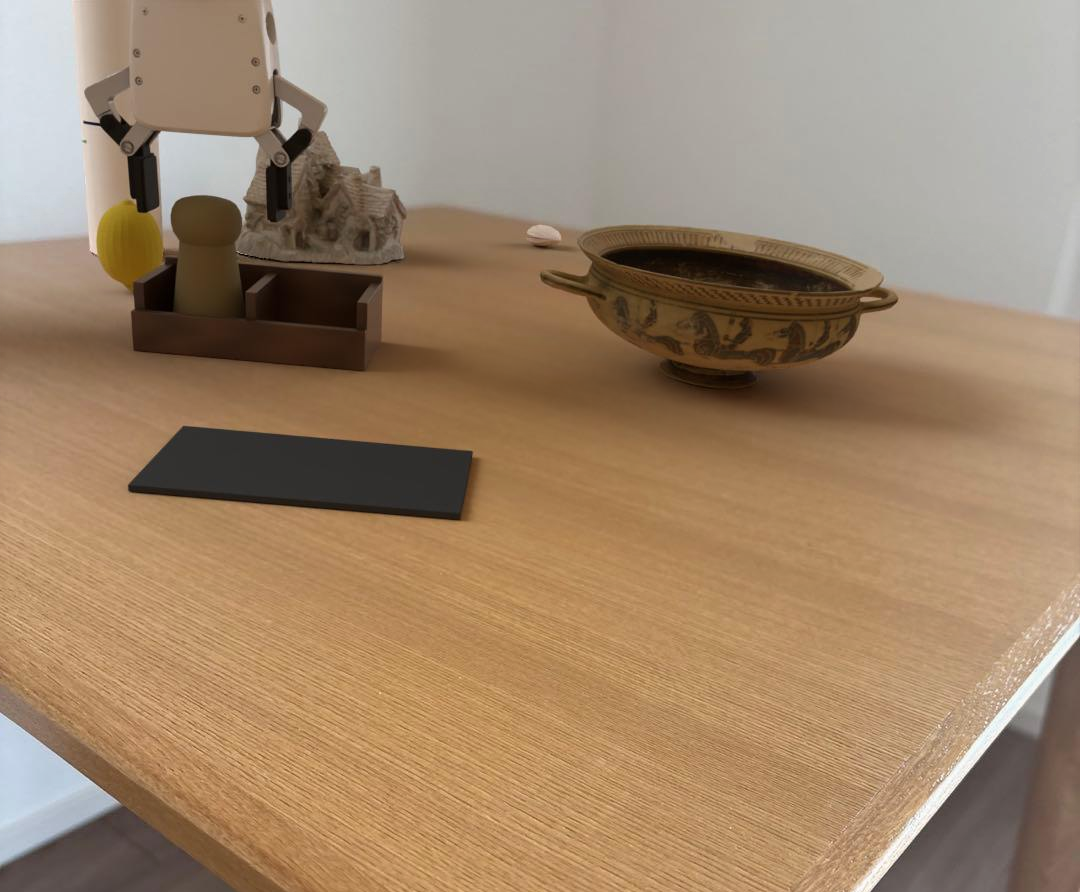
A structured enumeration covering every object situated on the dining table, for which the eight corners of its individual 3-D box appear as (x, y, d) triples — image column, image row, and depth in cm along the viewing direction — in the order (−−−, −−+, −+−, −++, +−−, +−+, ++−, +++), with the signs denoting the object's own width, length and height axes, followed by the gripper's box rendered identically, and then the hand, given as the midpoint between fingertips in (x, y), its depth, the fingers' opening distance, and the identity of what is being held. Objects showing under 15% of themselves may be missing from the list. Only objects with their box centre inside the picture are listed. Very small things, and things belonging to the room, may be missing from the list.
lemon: (139, 301, 98) (134, 206, 95) (86, 291, 100) (79, 198, 97) (177, 290, 103) (173, 200, 100) (126, 281, 105) (120, 192, 101)
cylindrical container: (121, 262, 112) (103, -18, 101) (74, 250, 115) (53, -23, 105) (178, 255, 117) (167, -12, 107) (132, 243, 121) (117, -17, 110)
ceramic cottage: (212, 245, 122) (218, 98, 116) (321, 238, 135) (332, 105, 129) (315, 281, 115) (328, 127, 109) (420, 270, 128) (436, 132, 122)
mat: (127, 491, 61) (127, 484, 61) (183, 431, 70) (183, 425, 70) (460, 519, 61) (460, 513, 61) (472, 456, 71) (472, 450, 70)
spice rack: (132, 350, 85) (128, 277, 83) (170, 322, 93) (167, 254, 91) (364, 371, 85) (366, 298, 83) (381, 340, 94) (383, 274, 91)
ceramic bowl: (562, 418, 79) (577, 275, 75) (506, 330, 100) (515, 215, 96) (949, 427, 85) (982, 295, 81) (819, 343, 107) (840, 235, 103)
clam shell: (544, 242, 144) (546, 222, 143) (571, 249, 141) (573, 229, 140) (519, 244, 141) (521, 223, 140) (546, 251, 138) (548, 230, 137)
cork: (220, 355, 86) (216, 206, 81) (153, 341, 87) (146, 195, 83) (264, 339, 91) (263, 198, 86) (201, 326, 93) (196, 188, 88)
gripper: (334, -27, 82) (336, 215, 89) (94, -46, 81) (115, 199, 88) (314, -32, 75) (317, 231, 82) (52, -52, 75) (78, 214, 82)
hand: (212, 214), depth 85 cm, fingers open, 9 cm apart
